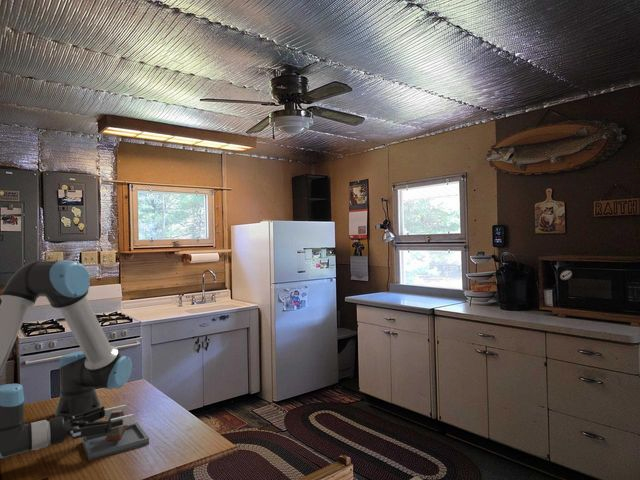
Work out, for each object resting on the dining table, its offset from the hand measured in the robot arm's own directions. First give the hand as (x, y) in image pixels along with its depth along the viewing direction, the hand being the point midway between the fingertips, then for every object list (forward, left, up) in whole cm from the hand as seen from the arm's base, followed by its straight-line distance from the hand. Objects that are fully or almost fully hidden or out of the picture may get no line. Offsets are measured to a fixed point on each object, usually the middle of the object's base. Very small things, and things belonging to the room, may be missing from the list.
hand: (129, 413), depth 141 cm
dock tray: (0, -4, -8) cm, 10 cm away
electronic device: (0, -4, -6) cm, 7 cm away
